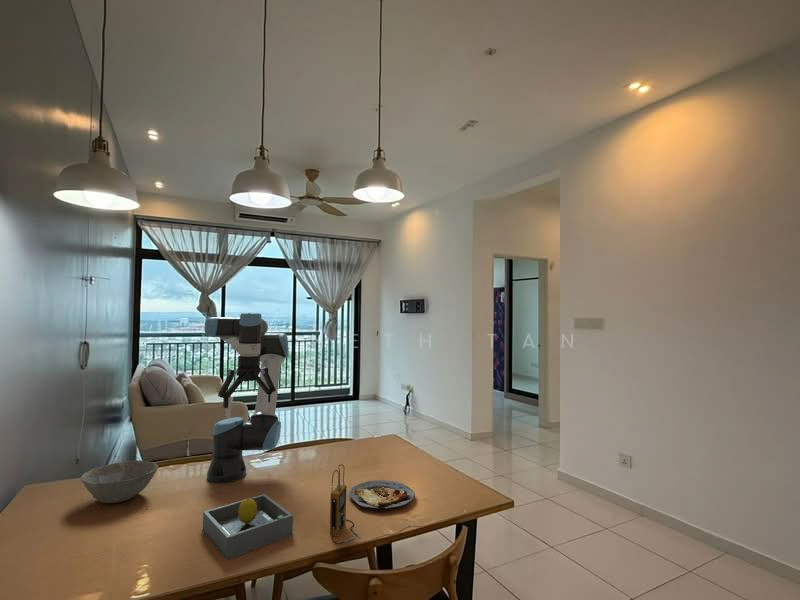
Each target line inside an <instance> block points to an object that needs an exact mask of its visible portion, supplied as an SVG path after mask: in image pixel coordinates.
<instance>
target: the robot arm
mask: <svg viewBox="0 0 800 600" xmlns="http://www.w3.org/2000/svg"><path fill="white" fill-rule="evenodd" d="M268 329H269V325H268V323H267V321H266V320H265V319H263V318H262V314H261V313H259V312H242V313H240V315H239V317H224V316H223V317H221V316H220V317H219V316H215V317H214V316H213V317H208V318H207V319H206V320H205V322H204V333H205V335H206V336H207V337H209V338H210V337H211V338H219V339H221V340H222V341H223V342H225V343H227V344H229V345H230V346H231V349H233V350H234V351H235V352H236V353H238V357H237V370H235V369H230V368H229V369H228V370H227V371H228V373H227V377H226V379H225V380H224V382H223V384H222V385H221V388H220V389H219V391H218V393H217V397H219V398H222V399H223V403H222V404H223V405H222V406H223V408H225V417H226V418H224V419H222V420H220V421H217V422H216V423H215V424H214V425H213V433H212V436H213V437H212V458H211V461H210V462H209V463H210V464H209V466H208V469H207V473H206V479H207V481H209V482H211V483H220V484H221V483H230V482H234V481H238V480H241V479H242V478H243V477H245V476H246V474H247V466H246V463H245V460H244V455H243V451H265V452H266V451H270V450H271V451H272V450H274V449H275V448H276V447H277V445H278V443H279V441H280V437H281V429H282V422H281V421H280V420H279V417H278V415H277V414H276V409H277V401H278V391H279V382H280V375H281V374H280V373H281V366H282V364H283V363H284V362H285V361H286V359H287V358H289V353H290V352H289V351H290V349H289V347H290V346H289V340H288V335H287V334H286V333H283V332H268ZM236 375H237V378H236V379H235V381H234V382H233V383H232V381H233V379H234V377H235V376H236ZM254 381H255V382H256V383H257V384H258V388H257V394H256V395H257V396H256V402H255V410H254V413H253V414H251V416H250V419H249V421H245V419H244V418H243V417H241V416H239V417H237V416H236V417H232V414H231V413H232V398H231V396H232V395H233V393H234V392H235V391H237V389H238V387H239V386H240V385H241V384H242V383H243V382H254ZM231 383H232V385H231Z"/></svg>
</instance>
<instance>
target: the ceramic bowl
mask: <svg viewBox="0 0 800 600" xmlns="http://www.w3.org/2000/svg"><path fill="white" fill-rule="evenodd" d="M158 469H159V465H158V463H156V462H153V461H149V460H137V459H136V460H135V459H134V460H126V461H120V462H114V463H109V464H105V465H102V466H98V467H94V468H93V469H90V470H89V471H86V472H84V473H83V474H82V475H81V477H80V480H81V483H83V485H84V487H85V488H86V490H87V491H88V492H89V494H91V495H92V498H93V499H96V500H97V501H99V502H100V503H105V504H113V503H114V504H115V503H121V502H125V501H128V500H130V499H132V498H135V496H137V495H138V494H139V493H141V492H142V491H143V490H144V489H146V488H147V486H149V484H150V483H151V481H152V479H153V478H154V475H155V474H156V472H157V470H158Z"/></svg>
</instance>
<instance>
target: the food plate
mask: <svg viewBox="0 0 800 600" xmlns="http://www.w3.org/2000/svg"><path fill="white" fill-rule="evenodd" d="M382 487H384V488H390V489H394V490H395V491H394V490H393V491H392V492H391V493H392V494H388V491H387V489H384V488H382ZM371 489H373V491H374V492H372V490H371ZM390 489H389V490H390ZM400 491H404V493H402V492H401V493H402V494H401V493H400ZM376 492H377V493H378V494H379V495H381V496H383V497H386V499H384V500H383V499H382V498H380V497H379V496H377V495H378V494H376ZM347 495H348V496H349V497H350V498H351V499H352V501H354V502H355V503H356V504H357V505H359V506H361V507H363V508H365V509H366V508H367V509H374V510H388V509H389V510H390V509H392V508H398V507H399V508H400V507H404V506H406V505H408V504H409V503H410V502H412V501H414V500H415V498H416V493H415V491H414V490H413V489H412V488H410V487H409V486H407V485H406V484H404V483H402V482H399V481H394V480H381V479H377V480H369V481H365V482H360V483H358V484H356V485H354V486H352V487H350V488H349V490H348V494H347ZM385 500H387V501H385Z"/></svg>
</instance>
